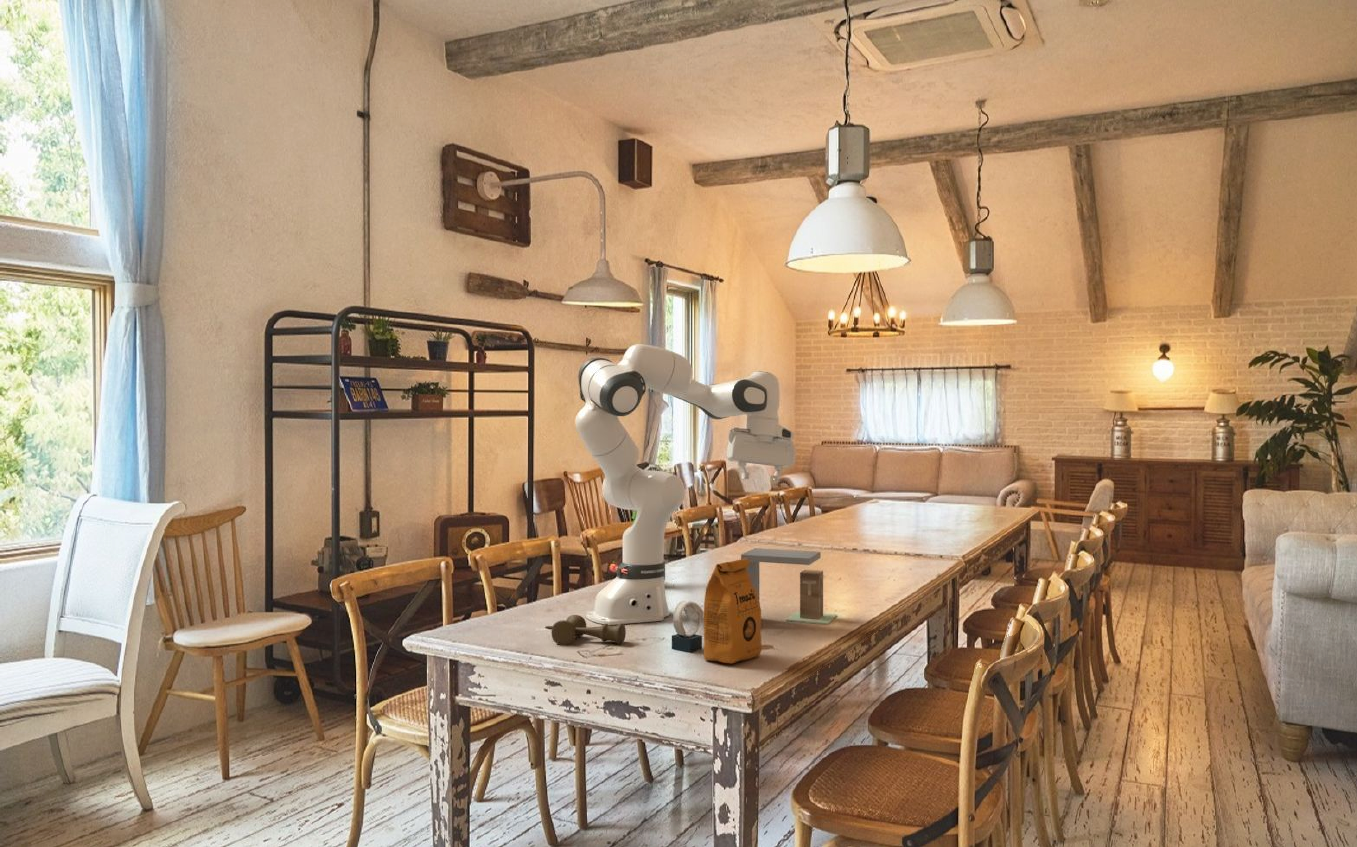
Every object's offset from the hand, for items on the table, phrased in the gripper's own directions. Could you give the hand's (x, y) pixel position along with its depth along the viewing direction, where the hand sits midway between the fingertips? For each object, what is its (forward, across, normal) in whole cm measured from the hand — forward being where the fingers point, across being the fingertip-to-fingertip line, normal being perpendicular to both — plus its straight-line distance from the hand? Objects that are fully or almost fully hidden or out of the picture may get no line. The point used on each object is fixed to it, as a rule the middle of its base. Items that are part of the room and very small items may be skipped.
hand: (760, 480), depth 260 cm
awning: (+38, 0, -14) cm, 40 cm away
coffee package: (+44, -26, -36) cm, 63 cm away
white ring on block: (+44, -32, -24) cm, 59 cm away
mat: (+36, +12, -10) cm, 39 cm away
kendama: (+44, -50, -6) cm, 67 cm away
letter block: (+36, +12, -10) cm, 39 cm away
